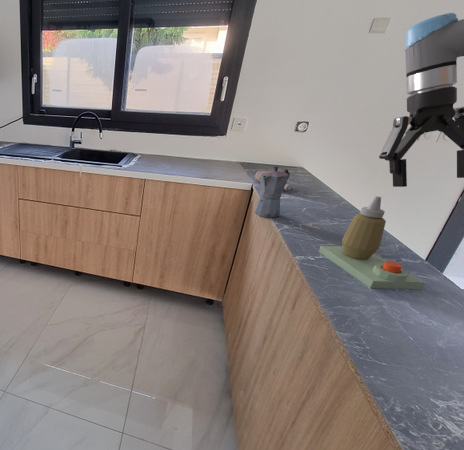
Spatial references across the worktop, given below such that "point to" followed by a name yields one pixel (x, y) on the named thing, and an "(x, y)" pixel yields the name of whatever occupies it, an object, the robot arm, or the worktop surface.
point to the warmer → (371, 270)
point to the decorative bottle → (258, 176)
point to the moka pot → (271, 192)
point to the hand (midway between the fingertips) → (432, 182)
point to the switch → (392, 267)
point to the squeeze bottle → (365, 232)
